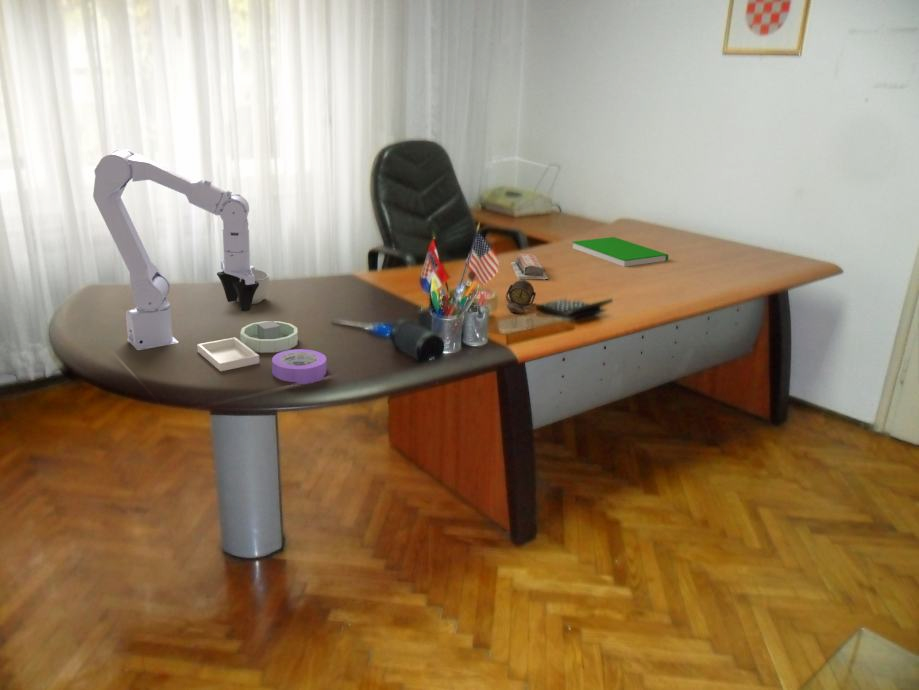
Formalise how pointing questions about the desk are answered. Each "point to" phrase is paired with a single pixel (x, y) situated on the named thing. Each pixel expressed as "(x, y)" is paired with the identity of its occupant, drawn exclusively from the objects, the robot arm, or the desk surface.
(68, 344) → the desk surface
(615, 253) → the book
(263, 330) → the grey cube
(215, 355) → the parts tray
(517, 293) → the brown desk clock
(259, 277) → the teacup
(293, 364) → the masking tape
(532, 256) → the packaged product
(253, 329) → the bowl
